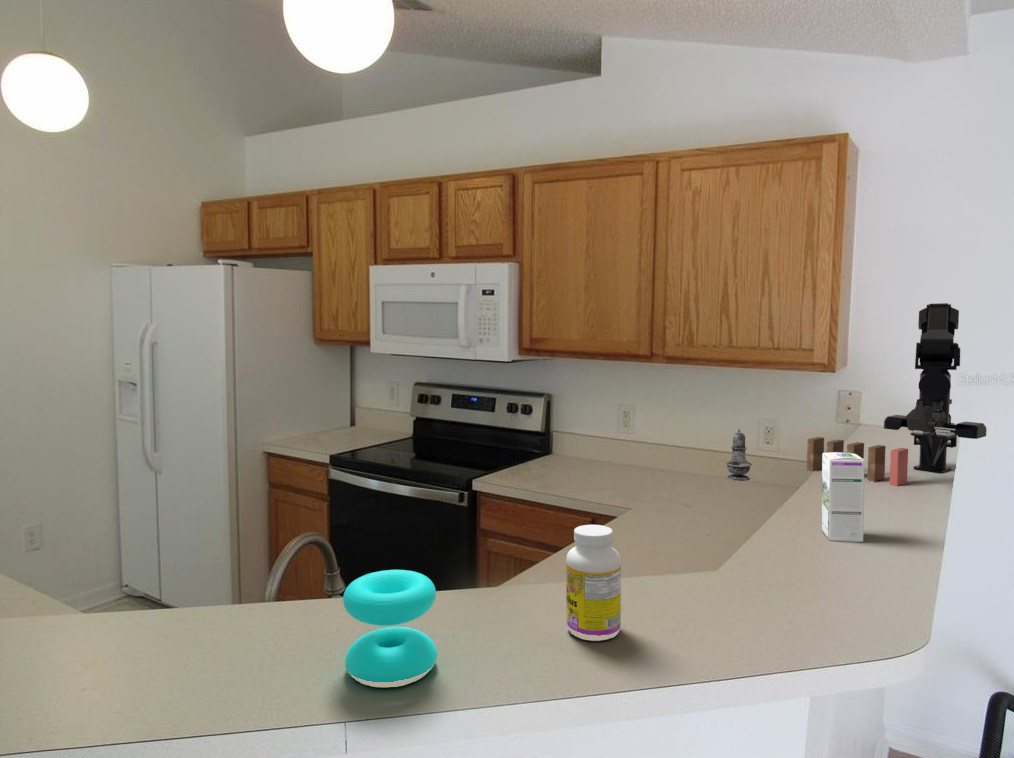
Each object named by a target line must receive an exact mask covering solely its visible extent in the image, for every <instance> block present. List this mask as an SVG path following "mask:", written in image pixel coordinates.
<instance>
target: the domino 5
mask: <svg viewBox="0 0 1014 758" xmlns="http://www.w3.org/2000/svg"><path fill="white" fill-rule="evenodd" d="M908 464H909V448H905V447H899V448H898V447H897V448H895V449H891V450H890V464H889V465H890V466H889V486H893V487H900V486H902V485H904V484H908V466H909V465H908Z"/></svg>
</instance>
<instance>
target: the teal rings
mask: <svg viewBox="0 0 1014 758" xmlns="http://www.w3.org/2000/svg"><path fill="white" fill-rule="evenodd" d="M436 597H437V591H436V587H435V584H434V583H433V581H432V579H430V578H429V577H428V576H426V575H424V574H423V573H420V572H417V571H413V570H406V569H389V570H388V569H387V570H380V571H379V570H378V571H375V572H373V571H372V572H370V573H366V574H364V575H362V576H360V577H358V578H356V579H354V580H353V581H351V582H350V583H349V584H348V585H347V587H346V589H345V591H344V593H343V597H342V600H343V601H342V603H343V607H344V609H345V610H346V612H347V613H348V614H349V615H350V617H352V618H353V619H355V620H357V622H358V621H359V622H360V623H364V624H368V625H372V626H382V627H383V628H378V629H375V630H372V631H370V632H368V633H365V634H363V635H361V636H360V637H358V639H356V640H355V641H354V642H352V644H351V645H350V647H349V648H348V650H347V653H346V655H345V659H344V665H345V669H346V668H347V670H346V672H347V671H348V672H349V673H350V674H351V675H353V676H355V677H357V678H360V679H363V680H366V681H372V682H394V681H398V680H404V679H409V678H412V677H415V676H417V675H420V674H422V673H424V672H426V671H427V670H428V669H430V668H431V667H432V666H433V665H434V663H435V662H436V663H437V660H436V659H438V658H437V657H438V650H437V646H436V644H435V643H434V641H433V640H432V638H430V636H428V635H427V634H426V633H424V632H422V631H420V630H418V629H414V628H411V627H405V626H404V627H403V626H398V625H401V624H406V623H409V622H411V621H415V620H416V619H418V618H420V617H421V616H423V615H425V613H427V612H428V611H429V610H430V609H431V608H432V606H433V605H434V602H435V600H436ZM396 625H397V626H396ZM384 626H385V627H384ZM386 626H387V627H386ZM388 626H389V627H388ZM436 663H435V664H436ZM434 666H435V665H434ZM348 672H347V673H348Z"/></svg>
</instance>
